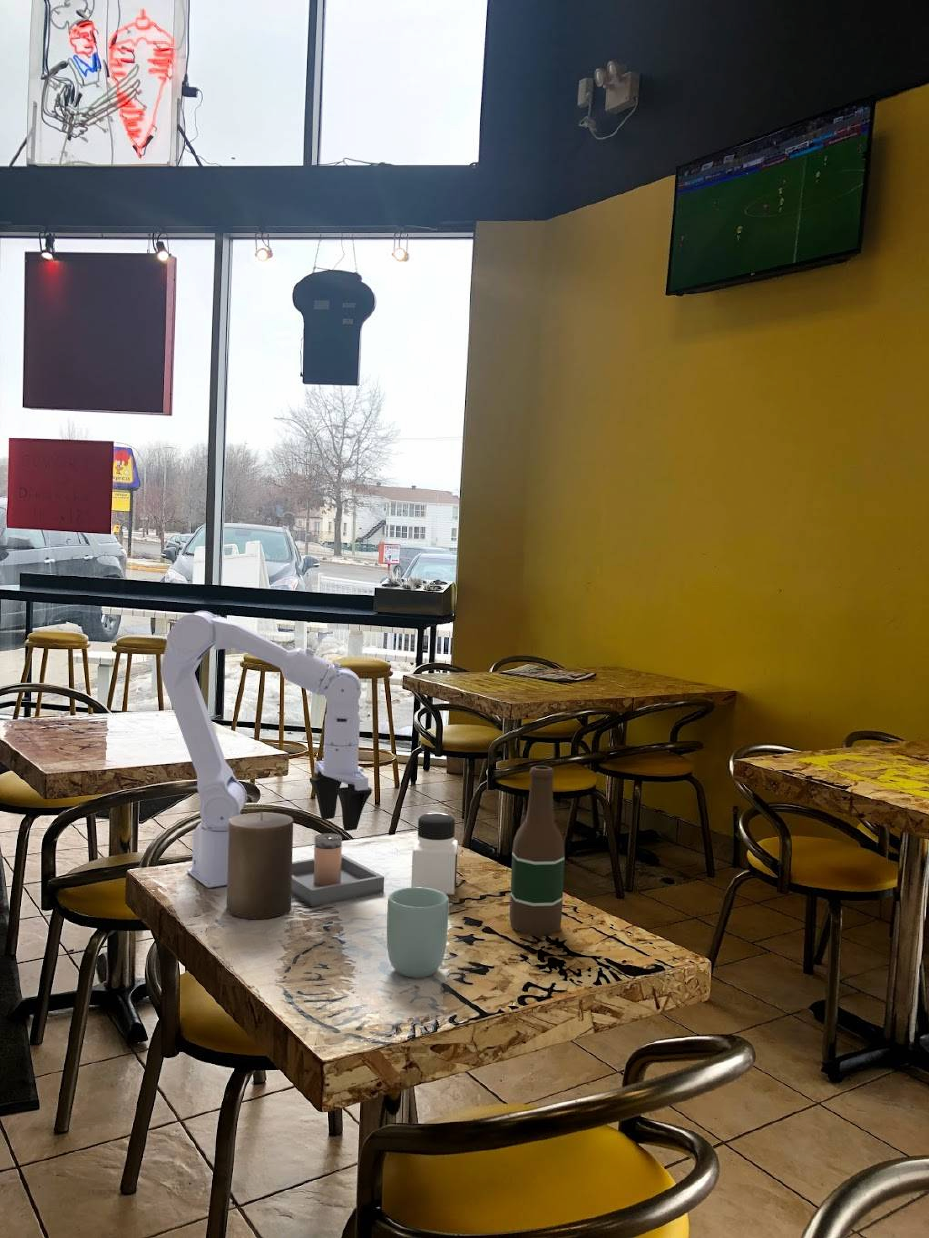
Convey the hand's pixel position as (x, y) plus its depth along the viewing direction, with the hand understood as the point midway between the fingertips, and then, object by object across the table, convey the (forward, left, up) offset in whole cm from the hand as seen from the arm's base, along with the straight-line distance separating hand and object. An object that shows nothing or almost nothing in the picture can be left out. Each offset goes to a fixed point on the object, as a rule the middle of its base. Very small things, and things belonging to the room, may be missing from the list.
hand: (338, 824), depth 165 cm
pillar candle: (+6, -17, -10) cm, 20 cm away
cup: (+37, -9, -10) cm, 39 cm away
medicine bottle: (+11, +12, -10) cm, 19 cm away
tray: (+2, -3, -9) cm, 10 cm away
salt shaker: (+2, -3, -9) cm, 10 cm away
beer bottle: (+33, +15, -10) cm, 37 cm away
